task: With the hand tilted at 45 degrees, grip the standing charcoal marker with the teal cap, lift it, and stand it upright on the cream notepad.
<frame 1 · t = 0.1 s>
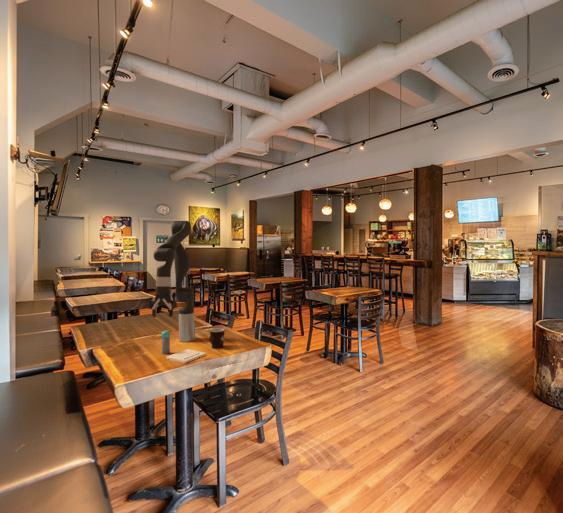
hand: (162, 317, 170), 22 cm above the table, tool pointing down, fingers open, 8 cm apart
coffee mug: (215, 348, 190), on the table
marker: (166, 353, 181), on the table
notepad: (186, 357, 174), on the table
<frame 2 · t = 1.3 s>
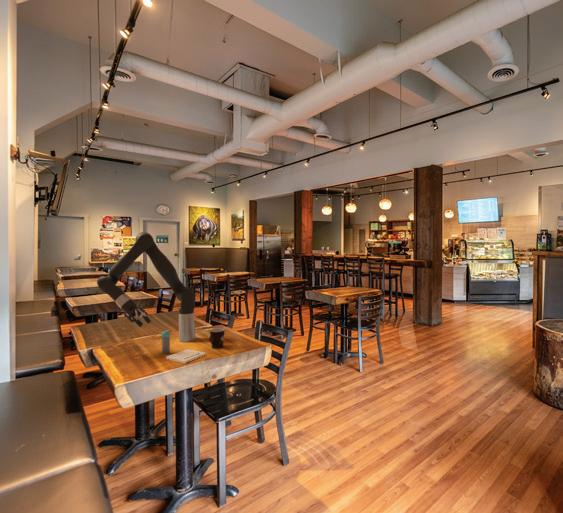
hand: (145, 324, 182), 16 cm above the table, tool tilted 45°, fingers open, 8 cm apart
nothing on the table moved.
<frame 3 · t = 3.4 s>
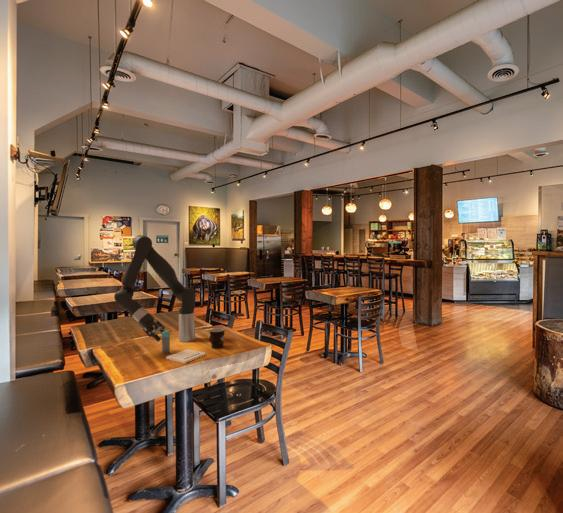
hand: (163, 338, 181), 8 cm above the table, tool tilted 45°, fingers open, 8 cm apart
nothing on the table moved.
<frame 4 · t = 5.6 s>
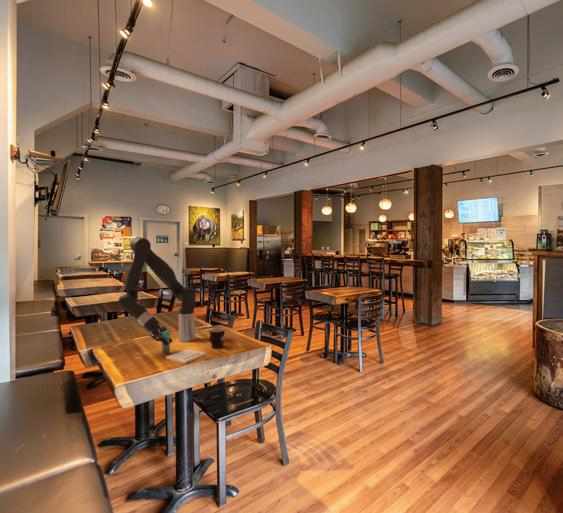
hand: (169, 343, 180), 6 cm above the table, tool tilted 45°, fingers closed on marker, 4 cm apart
marker: (166, 353, 181), on the table, touching gripper
everything else where it was.
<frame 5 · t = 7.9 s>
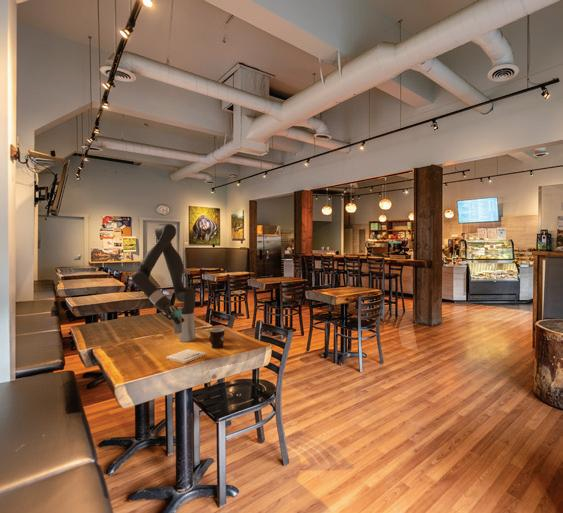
hand: (181, 322, 176), 18 cm above the table, tool tilted 45°, fingers closed on marker, 4 cm apart
marker: (178, 332, 176), point 12 cm above the table, touching gripper
everything else where it was.
when the fingers open (8 cm above the table, at t = 10.5 s): marker drops 1 cm, resting on notepad.
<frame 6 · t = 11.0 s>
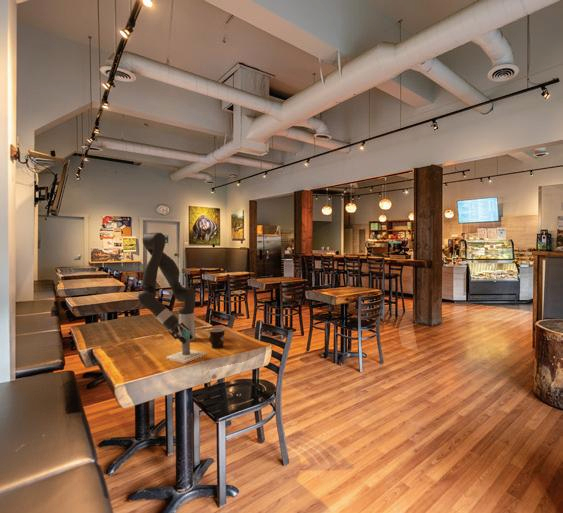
hand: (188, 340, 175), 9 cm above the table, tool tilted 45°, fingers open, 8 cm apart
marker: (186, 353, 175), point 1 cm above the table, touching notepad
everything else where it was.
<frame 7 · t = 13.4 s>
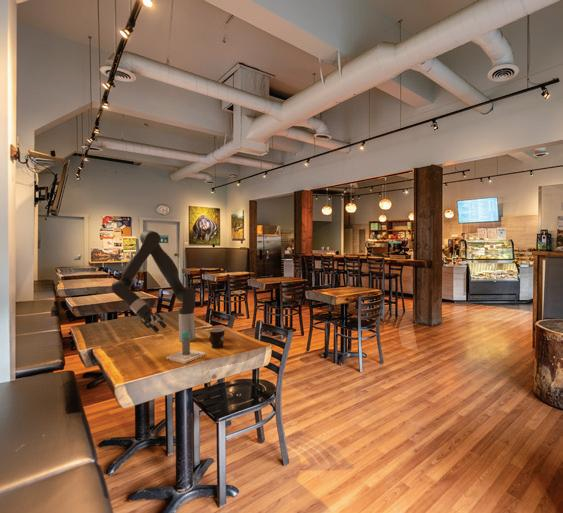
hand: (161, 329, 178), 14 cm above the table, tool tilted 45°, fingers open, 8 cm apart
nothing on the table moved.
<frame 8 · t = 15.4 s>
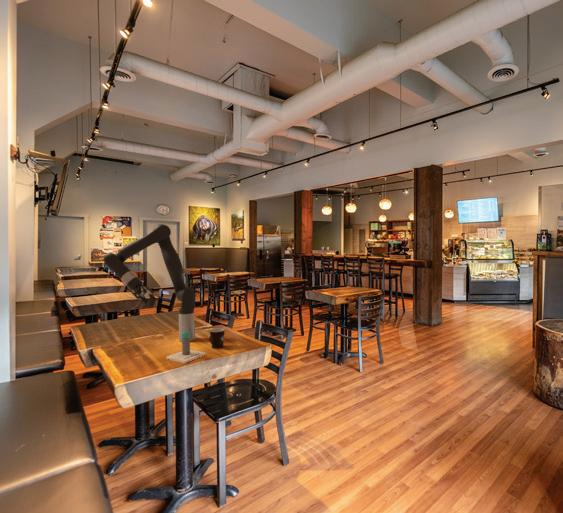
hand: (151, 301, 181), 29 cm above the table, tool tilted 45°, fingers open, 8 cm apart
nothing on the table moved.
at the end: marker inside the target area on the notepad (1.4 cm from its centre), point 1.2 cm above the notepad's base; marker tilted 0°; the gripper is holding nothing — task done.
